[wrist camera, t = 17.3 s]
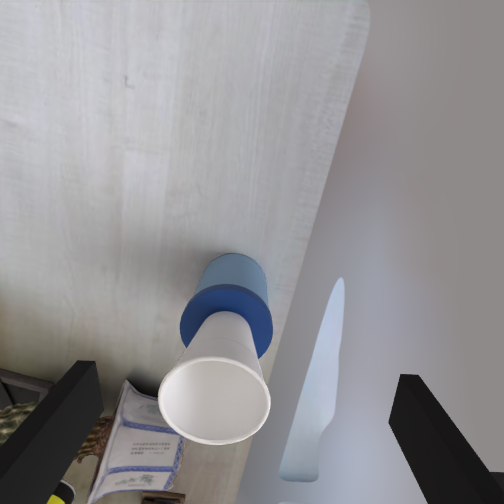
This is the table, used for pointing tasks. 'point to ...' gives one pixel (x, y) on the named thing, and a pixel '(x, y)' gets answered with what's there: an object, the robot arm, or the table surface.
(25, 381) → the picture frame
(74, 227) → the table surface
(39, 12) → the table surface
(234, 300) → the blue lidded canister
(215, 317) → the cup
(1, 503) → the robot arm
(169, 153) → the table surface
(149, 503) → the figurine
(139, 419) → the potted plant
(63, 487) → the flashlight
